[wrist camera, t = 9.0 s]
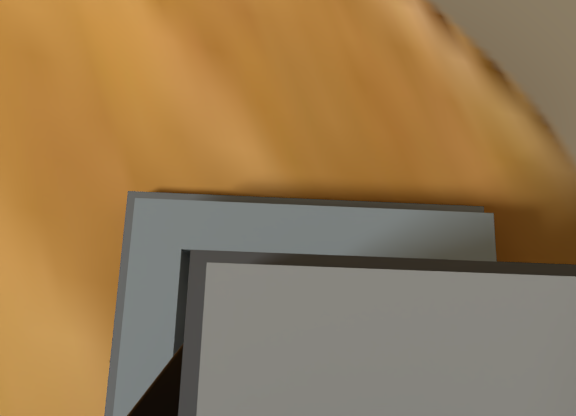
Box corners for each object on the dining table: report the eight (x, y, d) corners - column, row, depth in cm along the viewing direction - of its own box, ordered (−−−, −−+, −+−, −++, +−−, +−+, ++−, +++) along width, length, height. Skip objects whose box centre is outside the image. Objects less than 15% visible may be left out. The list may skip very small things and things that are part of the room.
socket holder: (494, 595, 18) (560, 668, 14) (94, 592, 17) (45, 666, 13) (473, 212, 21) (522, 183, 17) (134, 198, 20) (105, 164, 16)
